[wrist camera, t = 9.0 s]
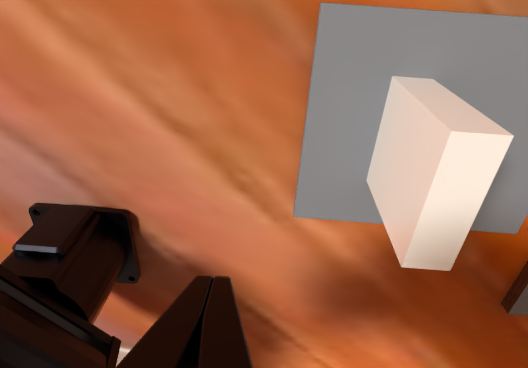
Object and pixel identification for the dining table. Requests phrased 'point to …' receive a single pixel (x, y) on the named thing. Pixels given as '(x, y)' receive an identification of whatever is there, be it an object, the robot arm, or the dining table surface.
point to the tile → (432, 170)
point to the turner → (518, 294)
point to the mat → (376, 90)
